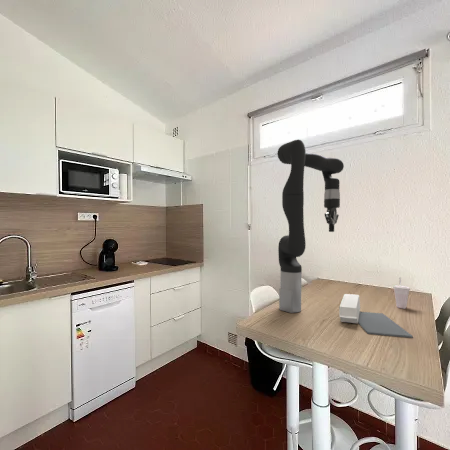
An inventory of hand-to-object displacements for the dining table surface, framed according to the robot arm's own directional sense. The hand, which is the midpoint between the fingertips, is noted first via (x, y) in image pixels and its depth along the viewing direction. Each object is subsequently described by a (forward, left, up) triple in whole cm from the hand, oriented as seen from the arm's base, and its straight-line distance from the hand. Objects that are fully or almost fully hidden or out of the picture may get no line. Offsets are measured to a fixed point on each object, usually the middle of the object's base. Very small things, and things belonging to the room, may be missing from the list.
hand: (331, 231), depth 125 cm
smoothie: (+12, -28, -35) cm, 47 cm away
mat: (-19, -25, -35) cm, 47 cm away
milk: (-9, -13, -31) cm, 35 cm away
